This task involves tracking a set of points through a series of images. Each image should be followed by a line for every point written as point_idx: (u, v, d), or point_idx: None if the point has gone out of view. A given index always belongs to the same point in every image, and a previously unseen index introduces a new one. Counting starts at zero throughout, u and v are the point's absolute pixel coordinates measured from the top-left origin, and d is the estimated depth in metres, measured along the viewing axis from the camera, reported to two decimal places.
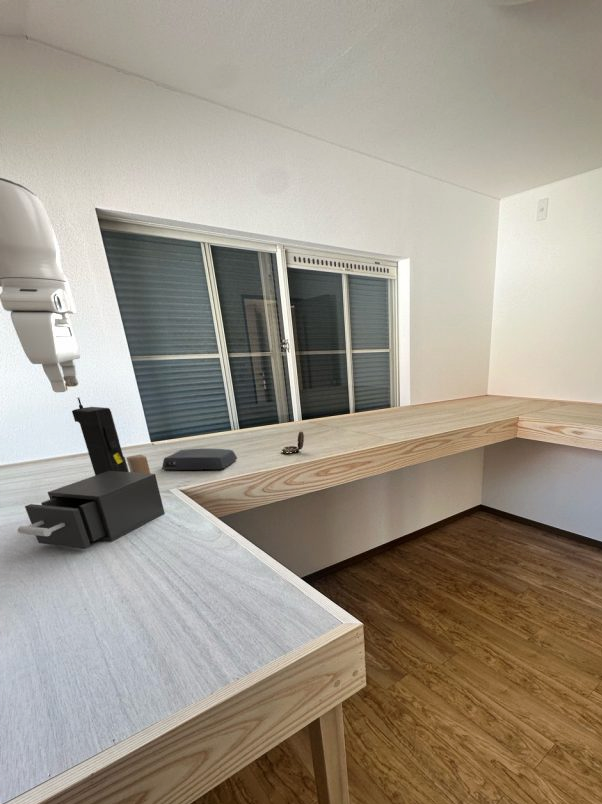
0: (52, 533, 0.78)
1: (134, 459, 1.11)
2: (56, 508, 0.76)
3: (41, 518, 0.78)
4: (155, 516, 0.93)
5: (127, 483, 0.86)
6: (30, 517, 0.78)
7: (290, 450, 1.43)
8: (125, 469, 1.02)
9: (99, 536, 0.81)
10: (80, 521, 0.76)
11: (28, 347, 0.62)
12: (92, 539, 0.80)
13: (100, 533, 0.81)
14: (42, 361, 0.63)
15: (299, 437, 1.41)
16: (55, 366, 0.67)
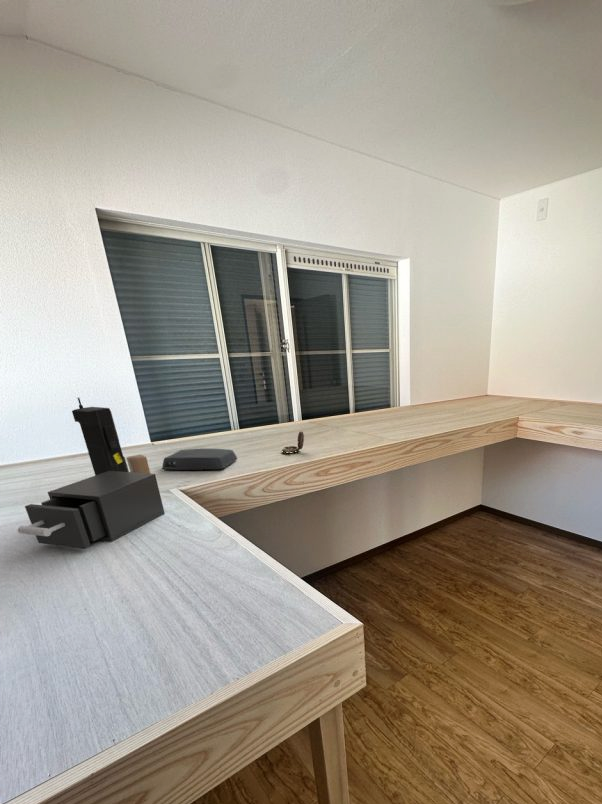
0: (52, 533, 0.78)
1: (134, 459, 1.11)
2: (56, 508, 0.76)
3: (41, 518, 0.78)
4: (155, 516, 0.93)
5: (127, 483, 0.86)
6: (30, 517, 0.78)
7: (290, 450, 1.43)
8: (125, 469, 1.02)
9: (99, 536, 0.81)
10: (80, 521, 0.76)
11: None
12: (92, 539, 0.80)
13: (100, 533, 0.81)
14: None
15: (299, 437, 1.41)
16: None
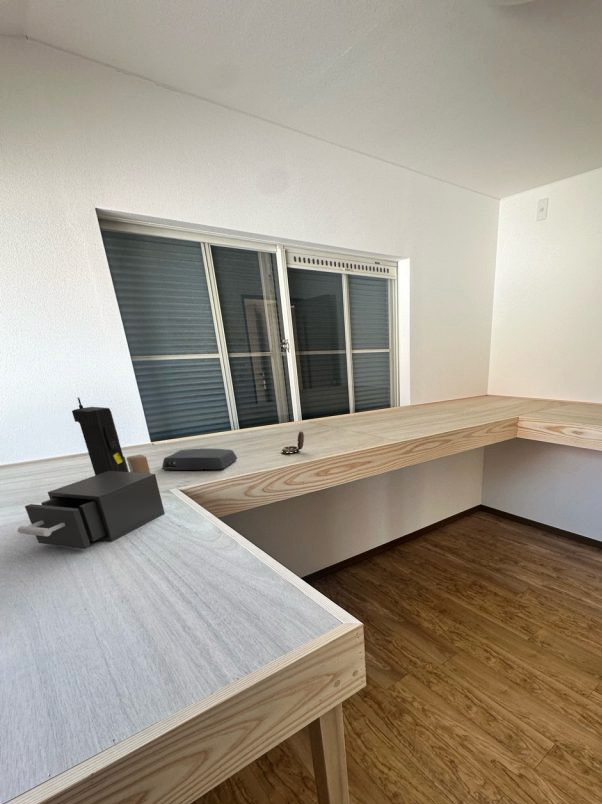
0: (52, 533, 0.78)
1: (134, 459, 1.11)
2: (56, 508, 0.76)
3: (41, 518, 0.78)
4: (155, 516, 0.93)
5: (127, 483, 0.86)
6: (30, 517, 0.78)
7: (290, 450, 1.43)
8: (125, 469, 1.02)
9: (99, 536, 0.81)
10: (80, 521, 0.76)
11: None
12: (92, 539, 0.80)
13: (100, 533, 0.81)
14: None
15: (299, 437, 1.41)
16: None
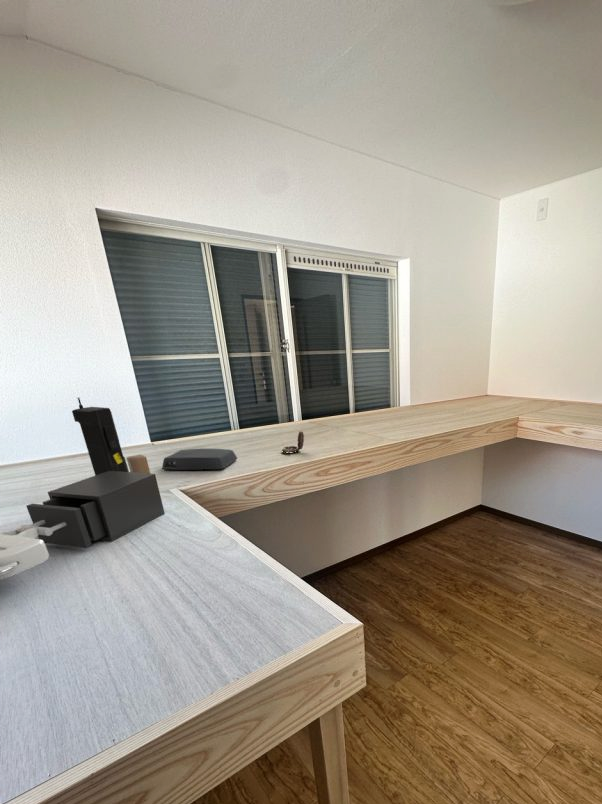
0: (53, 532, 0.79)
1: (134, 459, 1.11)
2: (57, 507, 0.76)
3: (43, 518, 0.78)
4: (155, 516, 0.93)
5: (127, 483, 0.86)
6: (31, 517, 0.79)
7: (290, 450, 1.43)
8: (125, 469, 1.02)
9: (100, 535, 0.81)
10: (81, 520, 0.77)
11: None
12: (93, 538, 0.80)
13: (101, 532, 0.82)
14: None
15: (299, 437, 1.41)
16: None
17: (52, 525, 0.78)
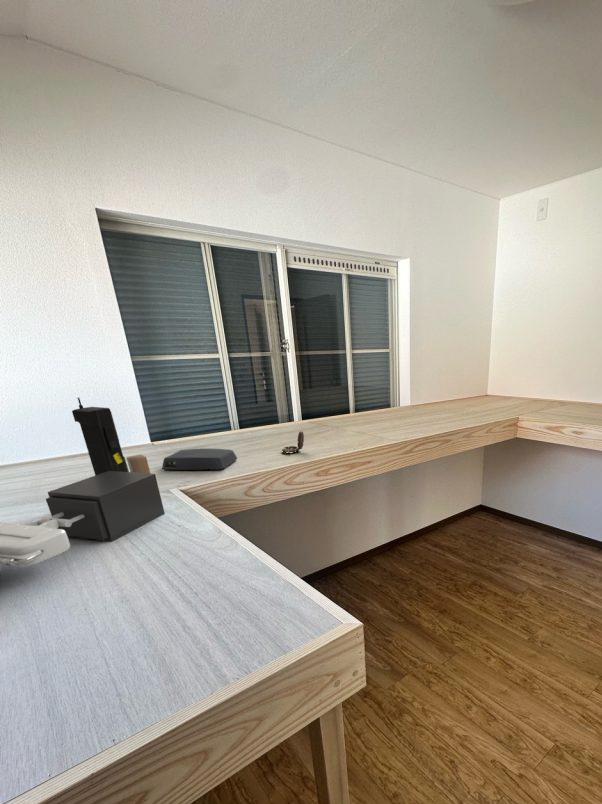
0: (71, 524, 0.82)
1: (134, 459, 1.11)
2: (76, 500, 0.80)
3: (61, 510, 0.81)
4: (155, 516, 0.93)
5: (127, 483, 0.86)
6: (50, 509, 0.82)
7: (290, 450, 1.43)
8: (125, 469, 1.02)
9: None
10: (99, 513, 0.80)
11: None
12: None
13: None
14: None
15: (299, 437, 1.41)
16: None
17: (70, 517, 0.81)
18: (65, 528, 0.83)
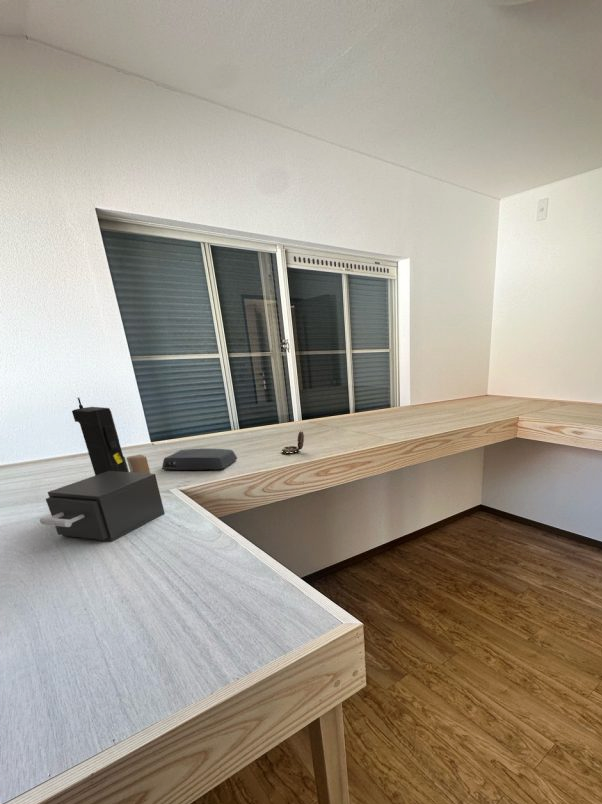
0: (71, 524, 0.82)
1: (134, 459, 1.11)
2: (76, 500, 0.80)
3: (61, 510, 0.81)
4: (155, 516, 0.93)
5: (127, 483, 0.86)
6: (50, 509, 0.82)
7: (290, 450, 1.43)
8: (125, 469, 1.02)
9: None
10: (99, 513, 0.80)
11: None
12: None
13: None
14: None
15: (299, 437, 1.41)
16: None
17: (70, 517, 0.81)
18: (65, 528, 0.83)
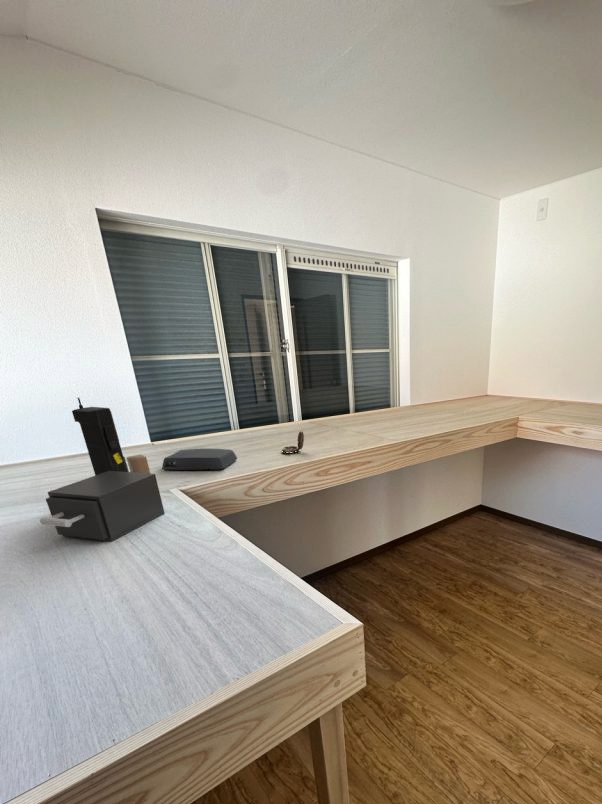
0: (71, 524, 0.82)
1: (134, 459, 1.11)
2: (76, 500, 0.80)
3: (61, 510, 0.81)
4: (155, 516, 0.93)
5: (127, 483, 0.86)
6: (50, 509, 0.82)
7: (290, 450, 1.43)
8: (125, 469, 1.02)
9: None
10: (99, 513, 0.80)
11: None
12: None
13: None
14: None
15: (299, 437, 1.41)
16: None
17: (70, 517, 0.81)
18: (65, 528, 0.83)
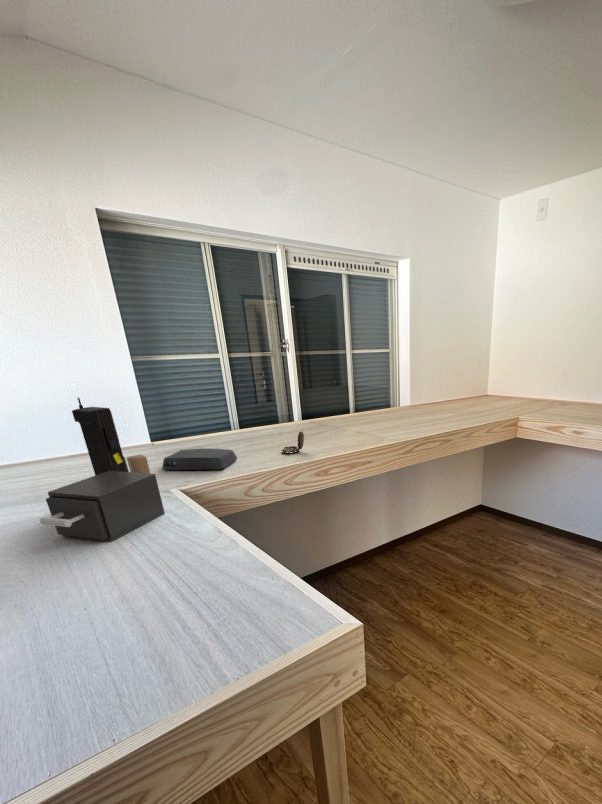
0: (71, 524, 0.82)
1: (134, 459, 1.11)
2: (76, 500, 0.80)
3: (61, 510, 0.81)
4: (155, 516, 0.93)
5: (127, 483, 0.86)
6: (50, 509, 0.82)
7: (290, 450, 1.43)
8: (125, 469, 1.02)
9: None
10: (99, 513, 0.80)
11: None
12: None
13: None
14: None
15: (299, 437, 1.41)
16: None
17: (70, 517, 0.81)
18: (65, 528, 0.83)
